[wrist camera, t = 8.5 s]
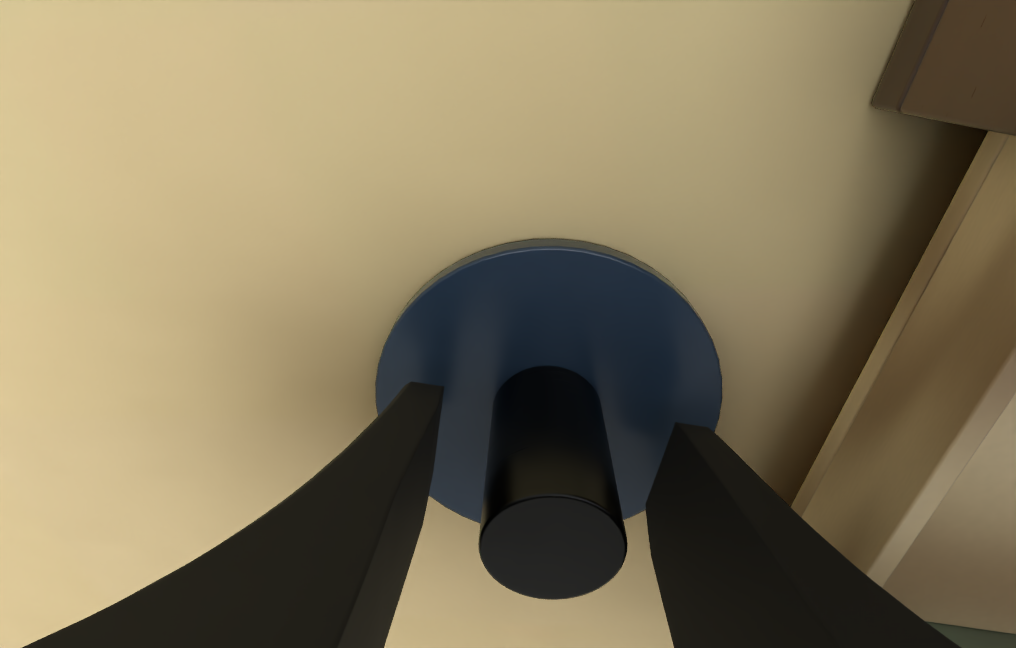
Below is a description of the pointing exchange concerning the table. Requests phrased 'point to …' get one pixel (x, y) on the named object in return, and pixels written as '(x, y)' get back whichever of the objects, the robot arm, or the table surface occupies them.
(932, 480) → the drawer
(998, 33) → the cabinet
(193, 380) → the table surface
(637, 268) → the lid
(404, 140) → the table surface
